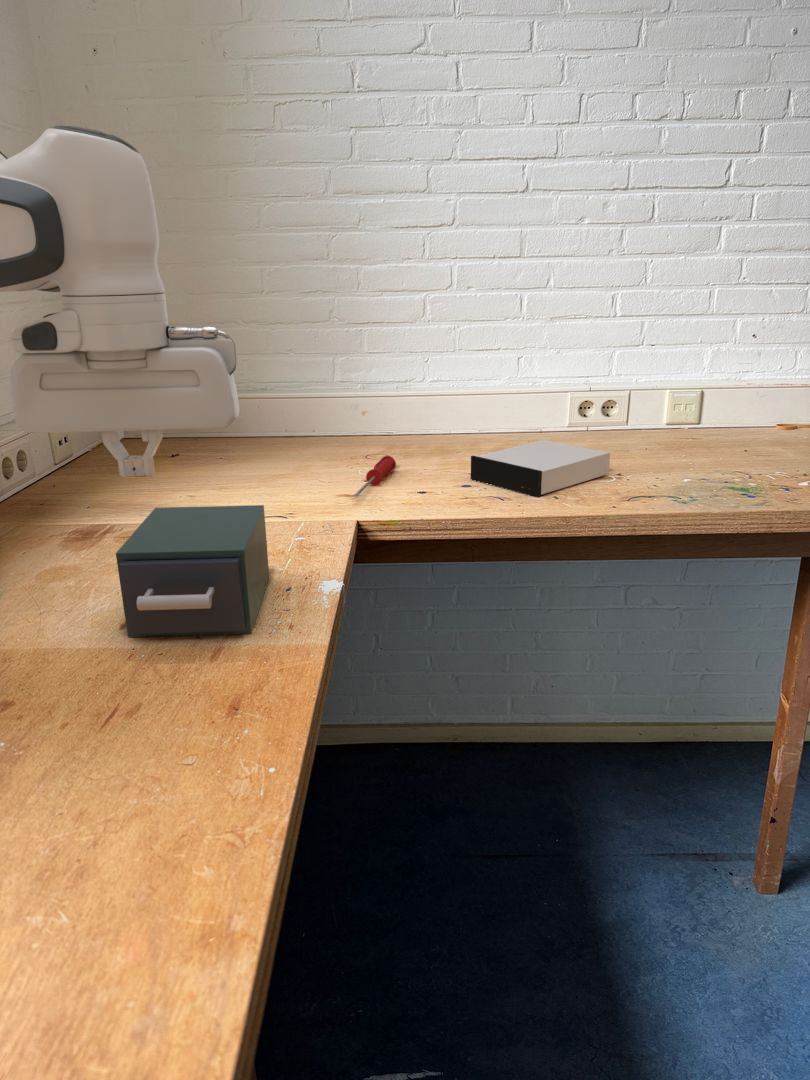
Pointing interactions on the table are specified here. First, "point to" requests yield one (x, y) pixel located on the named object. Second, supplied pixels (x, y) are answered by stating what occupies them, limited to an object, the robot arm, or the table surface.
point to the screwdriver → (379, 472)
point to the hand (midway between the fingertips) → (137, 475)
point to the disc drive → (539, 467)
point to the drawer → (183, 595)
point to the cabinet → (206, 547)
